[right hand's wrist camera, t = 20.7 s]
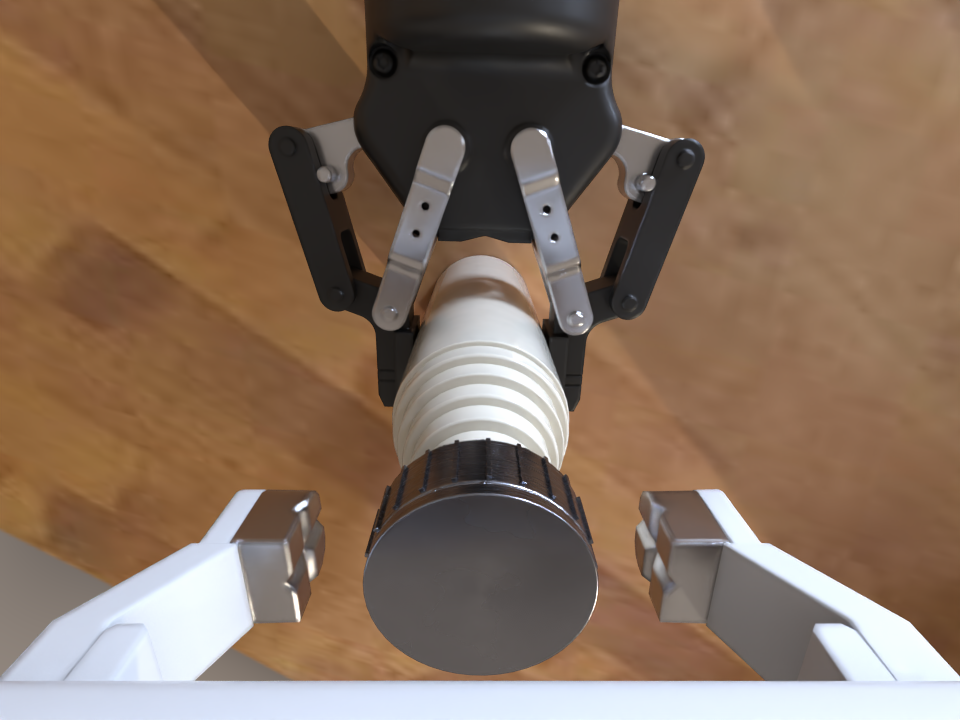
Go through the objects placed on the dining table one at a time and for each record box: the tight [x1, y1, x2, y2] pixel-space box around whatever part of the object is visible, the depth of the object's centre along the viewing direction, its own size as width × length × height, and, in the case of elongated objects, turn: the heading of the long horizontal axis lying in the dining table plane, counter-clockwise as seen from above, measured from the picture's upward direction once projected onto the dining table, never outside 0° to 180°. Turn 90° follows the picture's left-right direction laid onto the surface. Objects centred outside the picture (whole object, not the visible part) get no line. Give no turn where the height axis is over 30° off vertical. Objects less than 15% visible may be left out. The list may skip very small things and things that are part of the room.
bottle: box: [392, 255, 569, 470], centre depth 18 cm, size 5×5×18 cm
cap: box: [363, 438, 599, 675], centre depth 10 cm, size 4×4×2 cm
